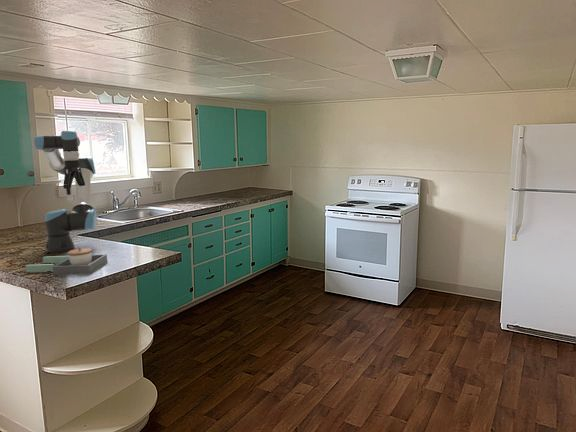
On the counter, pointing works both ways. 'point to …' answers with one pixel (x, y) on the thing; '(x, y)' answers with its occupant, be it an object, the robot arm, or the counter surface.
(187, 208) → the counter surface
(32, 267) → the rail holder
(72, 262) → the white round bowl
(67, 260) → the tray
